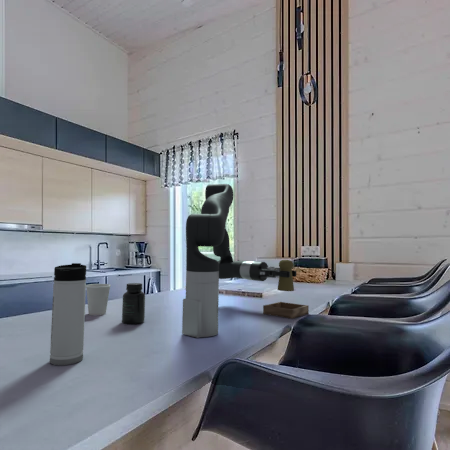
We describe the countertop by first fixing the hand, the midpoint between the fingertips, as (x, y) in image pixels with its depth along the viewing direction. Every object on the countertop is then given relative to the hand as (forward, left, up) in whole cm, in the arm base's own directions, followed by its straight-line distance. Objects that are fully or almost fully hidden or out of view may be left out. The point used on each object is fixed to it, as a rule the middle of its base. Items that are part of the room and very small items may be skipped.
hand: (292, 274), depth 122 cm
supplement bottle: (-46, +31, -15) cm, 57 cm away
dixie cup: (-47, +51, -15) cm, 71 cm away
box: (0, +3, -15) cm, 15 cm away
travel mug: (-76, +11, -15) cm, 78 cm away
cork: (0, +3, -6) cm, 7 cm away
